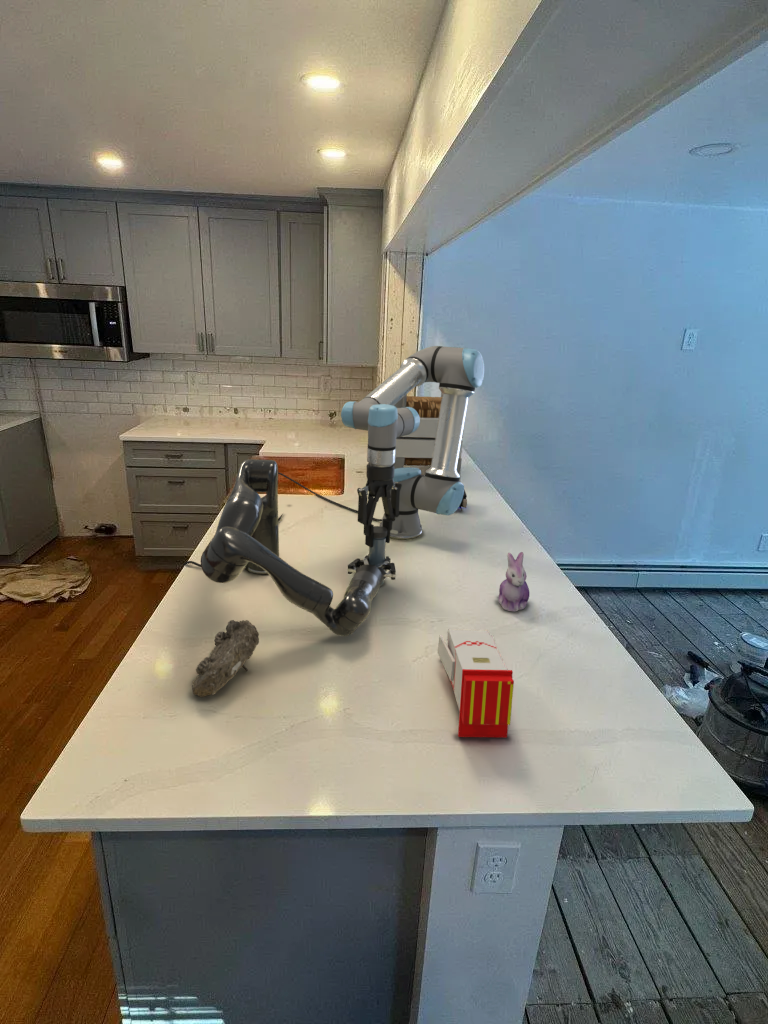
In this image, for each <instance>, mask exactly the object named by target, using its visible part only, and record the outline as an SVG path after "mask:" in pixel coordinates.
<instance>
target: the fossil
mask: <svg viewBox="0 0 768 1024" xmlns="http://www.w3.org/2000/svg"><path fill="white" fill-rule="evenodd" d="M259 635H260V633H259V632H258V629H257V627H256V625H254V624H252V623H251V622H250V620H248V619H245V620H240V621H238V620H235V619H231V620H229V621H228V622H227V625H226V627H225V631H223V630H222V631H218V632H217V633H216V634H215V636H214V638H215V639H214V647H213V649H212V650H211V653H210V654H209V656H206V657H204V659H202V660H201V661H200V662H199V663H198V664H197V666H196V667H195V671H196V674H197V676H196V677H195V679H194V680H193V681H192V685H191V688H192V694H193V695H196V696H198V698H199V697H200V698H202V697H206V696H211V695H212V696H213V695H215V694H217V692H218V691H219V690H221V689H222V688H224V686H226V684H227V683H228V682H229V681H231V680H232V679H233V678H234V677H235V676H237V673H238V671H239V670H240V669H243V670H244V671H245V672H249V669H248V668H247V667H246V666H245V662H246V661H247V660H249V659H250V658H251V657H252V655H253V654H254V652H255V649H256V647H257V646H258V645H259V643H260V637H259Z"/></svg>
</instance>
